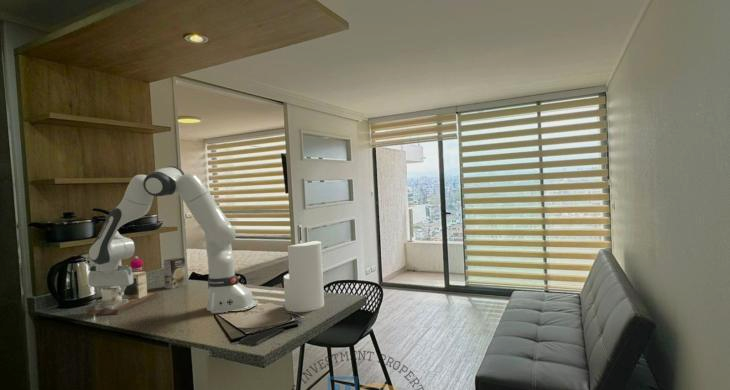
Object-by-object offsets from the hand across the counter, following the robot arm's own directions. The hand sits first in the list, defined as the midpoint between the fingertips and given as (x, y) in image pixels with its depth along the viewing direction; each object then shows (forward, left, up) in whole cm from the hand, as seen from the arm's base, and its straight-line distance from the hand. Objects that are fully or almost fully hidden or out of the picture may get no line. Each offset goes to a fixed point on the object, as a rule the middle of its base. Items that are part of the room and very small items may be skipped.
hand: (111, 295), depth 177 cm
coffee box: (-4, -43, -7) cm, 44 cm away
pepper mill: (+11, -32, -7) cm, 35 cm away
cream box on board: (0, -8, -7) cm, 10 cm away
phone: (-85, +34, -7) cm, 92 cm away
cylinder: (-91, -2, -7) cm, 91 cm away
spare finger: (0, 0, -5) cm, 5 cm away
